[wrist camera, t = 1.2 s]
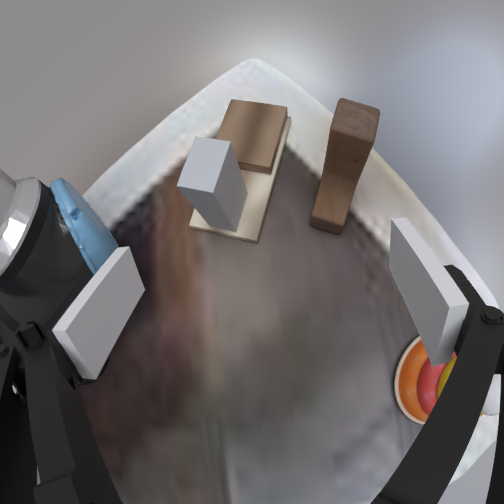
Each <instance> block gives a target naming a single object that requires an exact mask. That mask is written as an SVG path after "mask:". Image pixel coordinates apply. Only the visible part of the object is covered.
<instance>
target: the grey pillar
mask: <svg viewBox="0 0 504 504" xmlns="http://www.w3.org/2000/svg"><path fill="white" fill-rule="evenodd" d="M177 187H178V188H179V189H180V190H181V192H182V193H183V194H184V195H185V197H186V198H187V199H188V200H189V202H190V203H191V204H192V205H193V207H194V208H195V209H196V210H197V212H198V213H199V214H200V215H201V216H202V218H203V219H204V220H205V221H206V223H207V224H208V225H209V226H211V227H215V228H219V229H224V230H228V231H232V232H237V229H238V225H239V222H240V219H241V215H242V212H243V208H244V205H245V202H246V198H247V195H248V192H247V189H246V186H245V183H244V180H243V177H242V174H241V171H240V168H239V165H238V162H237V159H236V156H235V153H234V150H233V147H232V144H231V141H224V140H217V139H210V138H202V137H195V140H194V142H193V145H192V147H191V150H190V152H189V155H188V157H187V160H186V163H185V165H184V168H183V170H182V173H181V176H180V178H179V181H178V184H177Z"/></svg>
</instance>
